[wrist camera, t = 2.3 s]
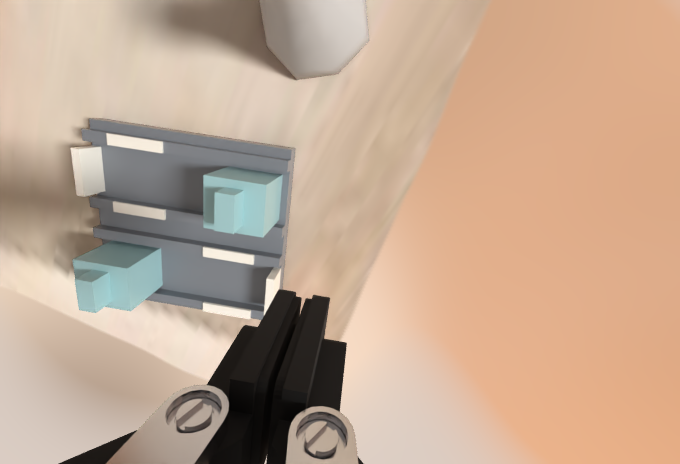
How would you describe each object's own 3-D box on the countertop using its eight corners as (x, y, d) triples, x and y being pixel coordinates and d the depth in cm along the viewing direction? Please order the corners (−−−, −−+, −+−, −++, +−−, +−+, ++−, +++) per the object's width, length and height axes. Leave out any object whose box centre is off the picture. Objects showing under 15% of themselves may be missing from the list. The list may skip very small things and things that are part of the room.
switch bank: (101, 118, 25) (65, 118, 22) (295, 148, 25) (284, 152, 22) (117, 284, 30) (89, 303, 27) (280, 312, 30) (269, 335, 27)
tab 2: (229, 166, 24) (191, 179, 19) (282, 174, 24) (258, 189, 19) (228, 211, 26) (191, 235, 20) (278, 219, 25) (255, 245, 20)
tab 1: (113, 239, 27) (53, 268, 22) (160, 247, 27) (111, 278, 22) (117, 277, 28) (60, 313, 23) (162, 285, 28) (116, 323, 23)
